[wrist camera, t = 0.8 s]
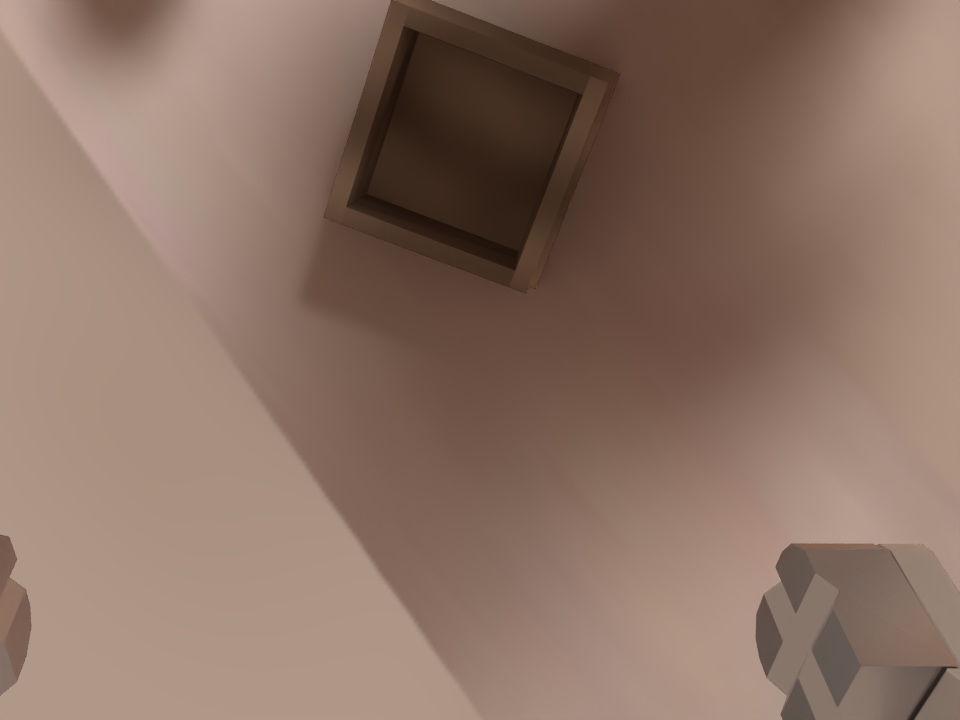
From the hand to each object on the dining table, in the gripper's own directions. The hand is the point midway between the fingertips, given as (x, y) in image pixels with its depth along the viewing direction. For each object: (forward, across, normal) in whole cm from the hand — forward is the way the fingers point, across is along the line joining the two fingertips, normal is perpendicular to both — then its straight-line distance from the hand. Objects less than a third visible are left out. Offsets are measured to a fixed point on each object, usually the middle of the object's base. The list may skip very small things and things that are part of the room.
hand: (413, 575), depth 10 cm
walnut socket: (+36, -4, +10) cm, 37 cm away
